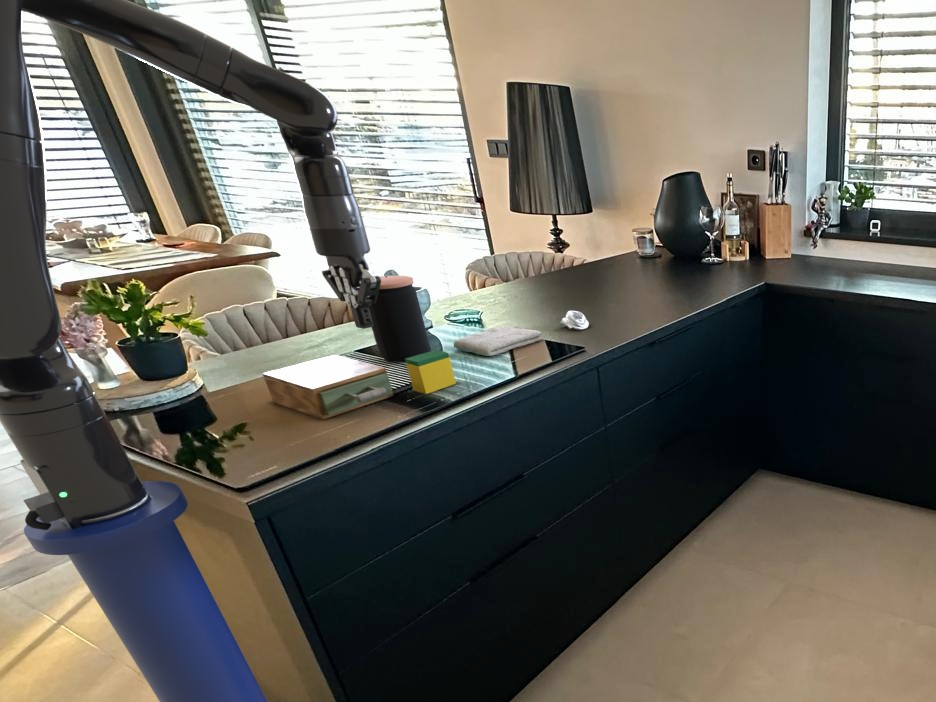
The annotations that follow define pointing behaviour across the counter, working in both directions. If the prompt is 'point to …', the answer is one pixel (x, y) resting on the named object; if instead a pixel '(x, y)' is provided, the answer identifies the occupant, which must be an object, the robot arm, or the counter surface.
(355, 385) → the drawer
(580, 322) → the whipped cream
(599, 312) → the counter surface
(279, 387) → the cabinet
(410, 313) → the coffee jar
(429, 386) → the sponge
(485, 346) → the washcloth
